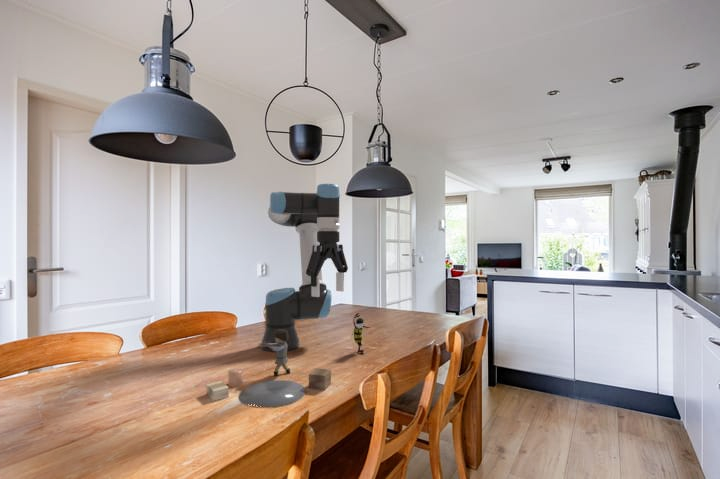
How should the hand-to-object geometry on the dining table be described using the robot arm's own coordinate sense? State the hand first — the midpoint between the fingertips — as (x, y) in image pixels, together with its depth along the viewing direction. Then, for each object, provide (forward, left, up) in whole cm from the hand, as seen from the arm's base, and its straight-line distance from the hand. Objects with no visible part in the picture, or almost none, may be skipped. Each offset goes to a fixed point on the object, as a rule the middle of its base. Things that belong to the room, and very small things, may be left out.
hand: (328, 293), depth 125 cm
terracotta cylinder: (-13, -27, -26) cm, 40 cm away
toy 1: (-10, -15, -26) cm, 32 cm away
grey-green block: (-10, -35, -26) cm, 45 cm away
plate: (+1, -25, -26) cm, 36 cm away
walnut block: (+8, -13, -26) cm, 30 cm away
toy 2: (-2, +22, -26) cm, 34 cm away
